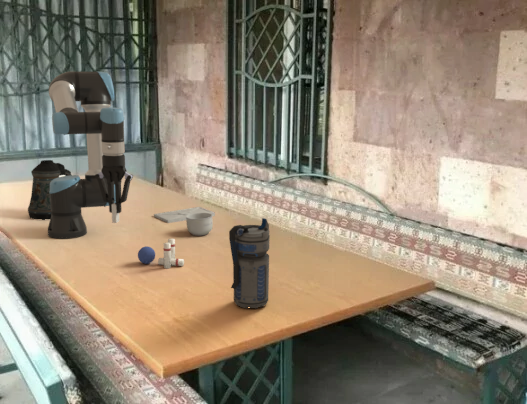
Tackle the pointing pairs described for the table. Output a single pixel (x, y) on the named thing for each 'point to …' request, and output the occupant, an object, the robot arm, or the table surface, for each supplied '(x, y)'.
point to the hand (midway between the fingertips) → (115, 221)
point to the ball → (146, 255)
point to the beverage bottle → (250, 264)
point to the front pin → (172, 262)
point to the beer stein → (44, 188)
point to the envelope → (180, 214)
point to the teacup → (199, 223)
